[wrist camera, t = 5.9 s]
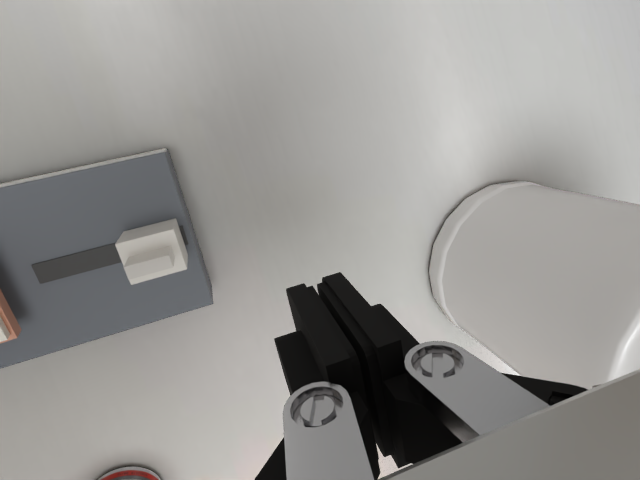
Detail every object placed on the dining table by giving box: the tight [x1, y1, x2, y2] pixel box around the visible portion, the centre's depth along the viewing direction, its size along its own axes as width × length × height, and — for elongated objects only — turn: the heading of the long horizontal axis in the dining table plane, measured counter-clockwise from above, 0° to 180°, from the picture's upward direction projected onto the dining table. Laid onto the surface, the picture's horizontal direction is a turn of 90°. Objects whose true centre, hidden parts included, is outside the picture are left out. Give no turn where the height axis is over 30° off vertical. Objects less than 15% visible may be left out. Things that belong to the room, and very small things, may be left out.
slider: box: [115, 218, 188, 285], centre depth 22 cm, size 3×2×4 cm
